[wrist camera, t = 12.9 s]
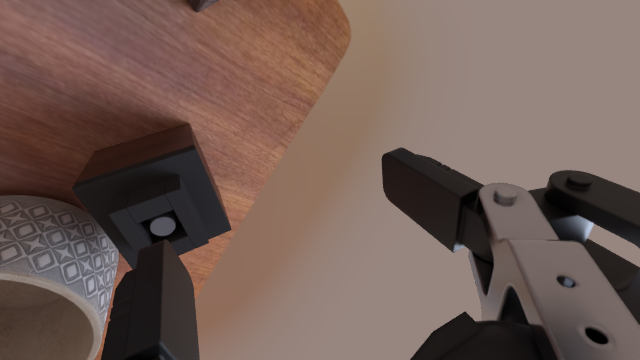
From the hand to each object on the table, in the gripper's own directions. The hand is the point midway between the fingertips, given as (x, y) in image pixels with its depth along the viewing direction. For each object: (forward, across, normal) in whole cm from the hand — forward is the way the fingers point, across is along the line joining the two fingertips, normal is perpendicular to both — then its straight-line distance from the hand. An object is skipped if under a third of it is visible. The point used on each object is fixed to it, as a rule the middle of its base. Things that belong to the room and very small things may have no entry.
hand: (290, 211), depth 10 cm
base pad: (+20, +8, +8) cm, 23 cm away
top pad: (+18, +8, +8) cm, 22 cm away
